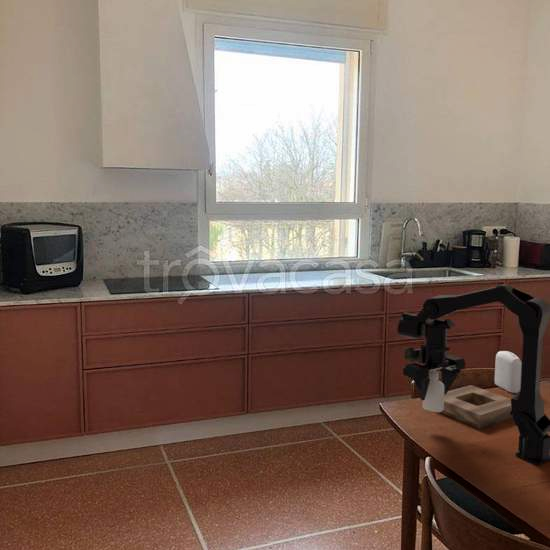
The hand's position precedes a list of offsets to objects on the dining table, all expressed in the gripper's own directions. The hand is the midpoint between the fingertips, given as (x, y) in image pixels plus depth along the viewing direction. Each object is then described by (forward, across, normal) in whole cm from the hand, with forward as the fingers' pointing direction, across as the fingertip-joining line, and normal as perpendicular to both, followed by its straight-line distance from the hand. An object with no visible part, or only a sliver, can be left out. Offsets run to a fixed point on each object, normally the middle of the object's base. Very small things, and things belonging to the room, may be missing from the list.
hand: (433, 396), depth 165 cm
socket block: (+9, -20, -2) cm, 22 cm away
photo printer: (+10, -46, -10) cm, 48 cm away
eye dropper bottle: (+4, 0, 0) cm, 4 cm away
